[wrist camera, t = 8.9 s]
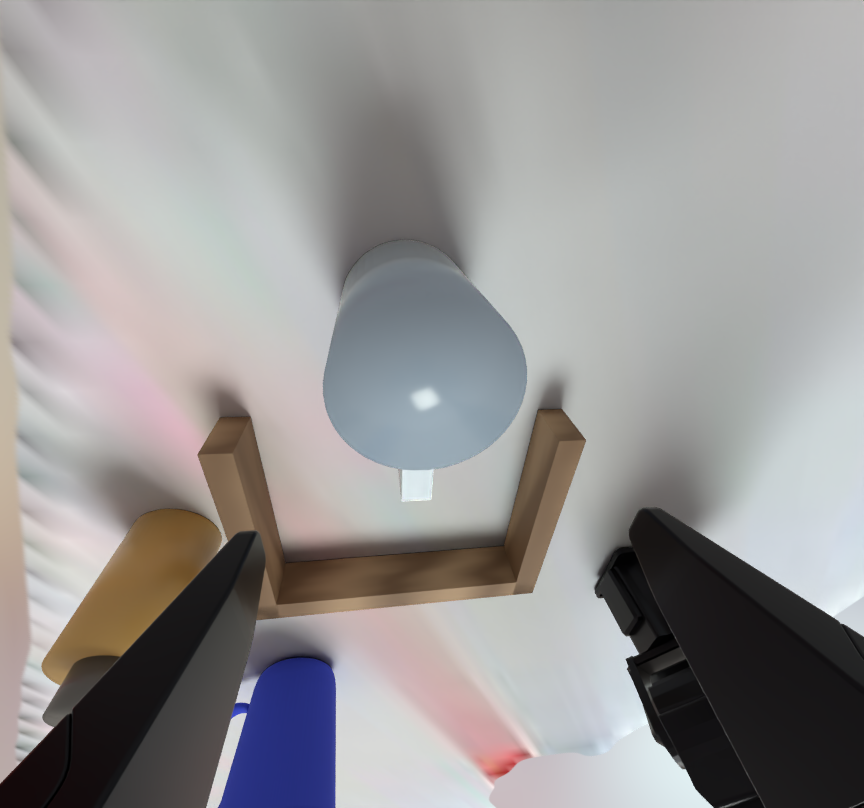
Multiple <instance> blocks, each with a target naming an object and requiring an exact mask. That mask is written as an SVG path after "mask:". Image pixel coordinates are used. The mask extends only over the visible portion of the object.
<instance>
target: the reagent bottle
mask: <svg viewBox="0 0 864 808" xmlns="http://www.w3.org/2000/svg"><path fill="white" fill-rule="evenodd" d="M221 541H222V538H221V533H220V531H219V529H218V528H217V527H216V526H215V525H214V524H213V523H212V522H211V521H210V520H208V519H207V518H205V517H203V516H201V515H199V514H196V513H193V512H190V511H186V510H180V509H160V510H155V511H151V512H148V513H146V514H144V515H142V516H141V517H139V518H138V519H137V520H136V522H135V523H134V524H133V526H132V527H131V529H130V530H129V532H128V533H127V535H126V536H125V538H124V539H123V541H122V542H121V544H120V545H119V547H118V548H117V550H116V551H115V553H114V554H113V556H112V558H111V559H110V561H109V562H108V564H107V565H106V567H105V568H104V570H103V571H102V573H101V574H100V576H99V577H98V579H97V580H96V582H95V583H94V585H93V586H92V588H91V589H90V591H89V592H88V594H87V595H86V597H85V598H84V600H83V601H82V603H81V604H80V606H79V607H78V609H77V610H76V612H75V613H74V615H73V616H72V618H71V619H70V621H69V622H68V624H67V625H66V627H65V628H64V630H63V631H62V633H61V634H60V636H59V637H58V639H57V640H56V642H55V643H54V645H53V646H52V648H51V649H50V651H49V652H48V654H47V655H46V657H45V658H44V660H43V662H42V671H43V673H44V674H45V675H46V676H47V677H48V678H49V679H50V680H52V681H53V682H55V683H57V684H59V685H61V686H60V687H59V689H58V691H57V692H56V694H55V696H54V697H53V699H52V701H51V702H50V704H49V706H48V707H47V709H46V711H45V712H44V714H43V717H42V718H43V720H44V722H45V723H47V724H48V725H50V726H52V727H55V726H56V725H57V724H58V723H59V722H60V721H61V720H62V719H63V717H64V716H65V715H66V714H69V713H71V711H72V708H73V707H74V706H75V705H76V704H77V703H78V702H79V701H80V700H81V698H82V697H83V696H84V695H85V694H86V693H87V692H88V691H89V690H90V689H91V688H92V687H93V686H94V685H95V683H96V682H97V681H98V680H99V679H100V678H101V677H102V676H103V675H104V674H105V673H106V672H107V671H108V670H109V669H110V667H111V666H112V665H113V664H114V663H115V662H116V661H117V660H118V659H119V658H120V657H121V656H122V655H123V654H124V652H125V651H126V650H127V649H128V648H129V647H130V646H131V645H132V644H133V643H134V642H135V641H136V640H137V639H138V638H139V636H140V635H141V634H142V633H143V632H144V631H145V630H146V629H147V628H148V627H149V626H150V625H151V624H152V623H153V621H154V620H155V619H156V618H157V617H158V616H159V615H160V614H161V613H162V612H163V611H164V610H165V609H166V608H167V607H168V605H169V604H170V603H171V602H172V601H173V600H174V599H175V598H176V597H177V596H178V595H179V594H180V593H181V592H182V590H183V589H184V588H185V587H186V586H187V585H188V584H189V583H190V582H191V581H192V580H193V579H194V578H195V577H196V576H197V574H198V573H199V572H200V571H201V570H202V569H203V568H204V567H205V566H206V565H207V564H208V563H209V562H210V561H211V559H212V558H213V557H214V556H215V555H216V554H217V552H218V550H219V547H220V545H221Z"/></svg>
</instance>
